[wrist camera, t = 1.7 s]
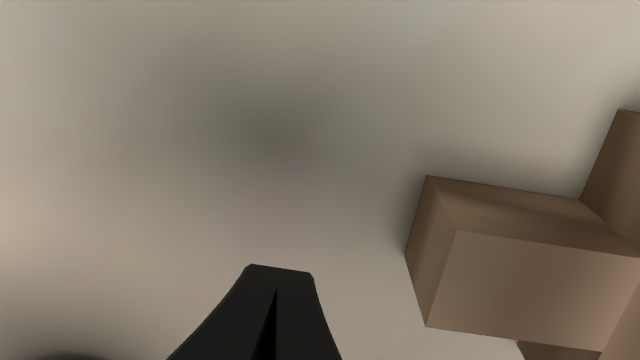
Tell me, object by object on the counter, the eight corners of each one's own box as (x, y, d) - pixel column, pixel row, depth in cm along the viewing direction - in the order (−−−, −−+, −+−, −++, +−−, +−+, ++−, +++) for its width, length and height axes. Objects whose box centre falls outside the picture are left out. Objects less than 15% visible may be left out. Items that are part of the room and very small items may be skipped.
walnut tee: (384, 326, 17) (399, 407, 14) (453, 80, 13) (495, 111, 10) (594, 355, 17) (656, 440, 14) (713, 125, 14) (832, 168, 11)
